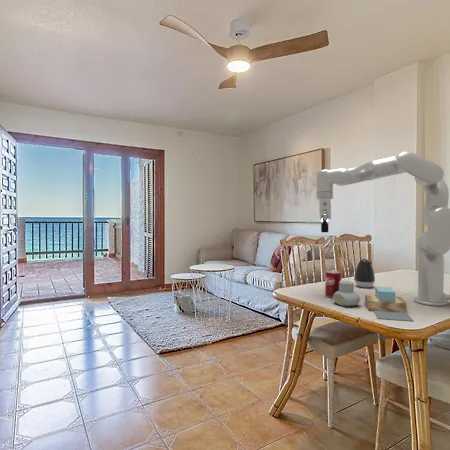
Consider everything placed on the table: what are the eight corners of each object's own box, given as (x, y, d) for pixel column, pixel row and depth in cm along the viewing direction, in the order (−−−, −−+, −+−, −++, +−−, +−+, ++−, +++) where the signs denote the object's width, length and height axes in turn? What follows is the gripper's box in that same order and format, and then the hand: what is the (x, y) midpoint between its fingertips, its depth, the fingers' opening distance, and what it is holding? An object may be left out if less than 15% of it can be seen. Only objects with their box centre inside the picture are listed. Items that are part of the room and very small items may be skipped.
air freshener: (330, 302, 145) (330, 280, 145) (344, 300, 149) (344, 278, 148) (348, 309, 135) (348, 285, 135) (363, 306, 139) (363, 283, 138)
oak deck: (400, 306, 139) (400, 296, 139) (406, 313, 129) (406, 303, 129) (365, 304, 143) (365, 294, 143) (368, 310, 133) (368, 300, 133)
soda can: (330, 299, 152) (330, 273, 151) (322, 295, 159) (322, 270, 158) (344, 298, 153) (344, 272, 153) (336, 294, 160) (336, 270, 160)
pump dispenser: (363, 289, 170) (363, 260, 169) (350, 285, 180) (350, 258, 179) (379, 288, 172) (379, 259, 172) (366, 284, 182) (366, 257, 182)
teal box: (390, 296, 139) (390, 287, 139) (395, 302, 131) (395, 292, 130) (375, 295, 141) (375, 286, 141) (378, 301, 132) (378, 291, 132)
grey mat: (406, 313, 129) (406, 312, 129) (413, 321, 119) (413, 320, 119) (373, 311, 132) (373, 310, 132) (377, 318, 122) (377, 318, 122)
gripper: (333, 194, 146) (333, 232, 147) (332, 196, 163) (332, 230, 163) (316, 195, 148) (316, 232, 149) (316, 197, 165) (316, 230, 165)
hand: (324, 231), depth 156 cm, fingers open, 9 cm apart
